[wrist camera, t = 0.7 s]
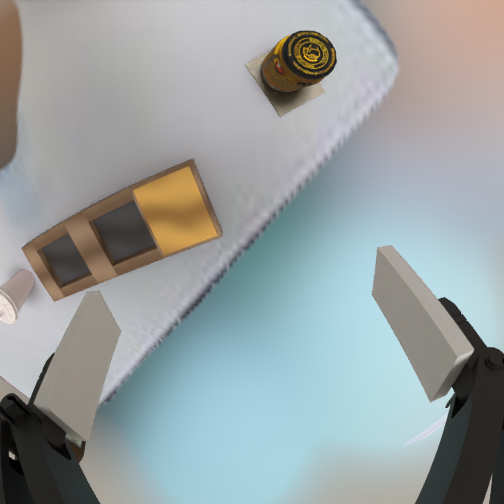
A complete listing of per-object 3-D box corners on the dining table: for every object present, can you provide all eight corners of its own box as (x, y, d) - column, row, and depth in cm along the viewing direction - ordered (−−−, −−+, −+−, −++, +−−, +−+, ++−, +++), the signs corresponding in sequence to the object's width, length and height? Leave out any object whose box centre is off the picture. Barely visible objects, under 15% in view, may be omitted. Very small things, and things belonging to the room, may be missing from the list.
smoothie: (36, 298, 42) (3, 348, 29) (12, 280, 39) (-25, 325, 27) (43, 275, 40) (4, 325, 27) (18, 256, 38) (-25, 300, 25)
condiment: (291, 41, 30) (322, 13, 19) (324, 92, 33) (366, 85, 23) (244, 64, 31) (256, 41, 20) (279, 116, 34) (306, 116, 24)
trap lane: (27, 243, 37) (20, 249, 35) (192, 158, 36) (191, 161, 33) (58, 295, 42) (53, 302, 40) (222, 231, 41) (222, 237, 38)
